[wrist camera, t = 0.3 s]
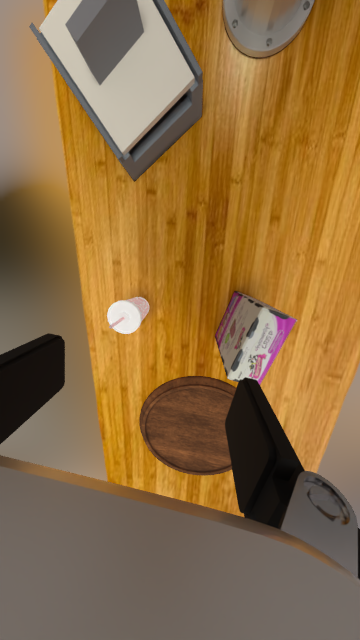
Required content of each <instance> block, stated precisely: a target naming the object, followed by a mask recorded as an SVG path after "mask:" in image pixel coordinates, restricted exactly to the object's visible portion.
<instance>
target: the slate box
mask: <svg viewBox="0 0 360 640" xmlns="http://www.w3.org/2000/svg"><path fill="white" fill-rule="evenodd" d="M152 1H153V2H154V4H155V6H156V8H157V10H158V11H159V13H160V15H161V17H162V19H163V21H164V22H165V24H166V26H167V28H168V30H169V32H170V33H171V35H172V37H173V39H174V41H175V43H176V44H177V46H178V48H179V50H180V52H181V54H182V55H183V57H184V59H185V61H186V63H187V64H188V66H189V68H190V70H191V72H192V74H193V75H194V77H195V83H194V84H193V85H192V86H191V87H190V89H189V90H188V91H187V92H186V93H185V94H184V95H183V96H182V97H181V98H180V99H179V100H178V101H177V102H176V103H175V104H174V105H173V106H172V107H171V108H170V109H169V110H168V111H167V112H166V113H165V114H164V115H163V116H162V117H161V118H160V120H159V121H158V122H157V123H156V124H155V125H154V126H153V127H152V128H151V129H150V130H149V131H148V132H147V133H146V134H145V135H144V136H143V137H142V138H141V139H140V140H139V141H138V142H137V143H136V144H135V145H134V146H133V147H132V148H131V149H130V151H129V152H128V153H127V154H126V155H125V156H124V155H123V154H122V152H121V151H120V149H119V148H118V146H117V145H116V143H115V142H114V140H113V139H112V137H111V136H110V134H109V133H108V131H107V130H106V128H105V127H104V125H103V124H102V122H101V121H100V119H99V118H98V116H97V115H96V113H95V112H94V110H93V109H92V107H91V106H90V104H89V103H88V101H87V100H86V98H85V97H84V95H83V94H82V92H81V91H80V89H79V88H78V86H77V85H76V83H75V82H74V80H73V79H72V77H71V76H70V74H69V73H68V71H67V70H66V68H65V67H64V65H63V64H62V62H61V61H60V59H59V58H58V56H57V55H56V53H55V52H54V50H53V49H52V47H51V46H50V44H49V43H48V41H47V40H46V38H45V37H44V35H43V34H42V32H41V33H39V32H38V30H37V29H36V27H35V26H34V24H33V23H31V25H30V28H31V30H32V31H33V33H34V34H35V36H36V37H37V40H38V41H39V43H40V44H41V46H42V47H43V49H44V50H45V52H46V53H47V54H48V56H49V57H50V59H51V60H52V62H53V63H54V65H55V66H56V68H57V69H58V71H59V72H60V74H61V75H62V77H63V78H64V80H65V81H66V83H67V84H68V86H69V87H70V89H71V90H72V92H73V93H74V94H75V96H76V97H77V99H78V100H79V102H80V103H81V105H82V106H83V108H84V109H85V111H86V112H87V114H88V115H89V117H90V118H91V120H92V121H93V123H94V124H95V126H96V127H97V129H98V130H99V131H100V133H101V134H102V136H103V137H104V139H105V140H106V142H107V143H108V145H109V146H110V148H111V149H112V151H113V152H114V154H115V155H116V157H117V158H118V160H119V161H120V163H121V164H122V165H123V167H124V168H125V169H126V171H127V172H128V174H129V175H130V176H131V178H132V179H133V180H134V182H135V181H136V180H137V179H138V178H139V177H140V176H141V175H142V174H143V173H144V172H145V171H146V170H147V169H148V168H149V167H150V166H151V165H152V164H153V163H154V162H155V161H156V160H157V159H158V158H159V157H160V156H161V155H162V154H163V153H165V152H166V151H167V150H168V149H169V148H170V147H171V146H172V145H173V144H174V143H175V142H176V141H177V140H178V139H179V138H180V137H181V136H182V135H183V134H184V133H185V132H186V131H187V130H188V129H189V128H190V127H191V126H192V125H193V124H194V123H195V122H197V121H198V120H199V119H200V118H201V117H202V92H203V80H202V70H201V68H200V67H199V65H198V63H197V61H196V59H195V57H194V55H193V54H192V52H191V50H190V48H189V46H188V44H187V42H186V40H185V39H184V37H183V35H182V33H181V31H180V29H179V27H178V26H177V24H176V22H175V20H174V18H173V16H172V14H171V13H170V11H169V9H168V7H167V5H166V3H165V1H164V0H152Z"/></svg>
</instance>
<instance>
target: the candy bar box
mask: <svg viewBox="0 0 360 640" xmlns="http://www.w3.org/2000/svg"><path fill="white" fill-rule="evenodd" d="M296 321H297V320H296V319H295V318H293V317H291V316H289V315H287V314H285V313H283V312H281V311H279V310H277V309H275V308H273V307H271V306H269V305H267V304H265V303H263V302H261V301H259V300H257V299H255V298H252V297H250V296H248V295H245V294H242V293H240V292H237V291H235V292H234V294H233V296H232V299H231V301H230V303H229V305H228V308H227V310H226V312H225V315H224V317H223V319H222V321H221V323H220V326H219V328H218V330H217V332H216V335H215V338H216V341H217V345H218V348H219V351H220V355H221V358H222V362H223V365H224V368H225V372H226V375H227V378H228V379H230V380H233V381H236V382H239V380H240V379H242V380H243V379H244V378H245V377H246V378H251V379H255V380H257V381H258V383H259V385H261V383H262V381H263V379H264V377H265V376H266V374H267V372H268V370H269V368H270V367H271V365H272V363H273V361H274V360H275V358H276V356H277V354H278V353H279V351H280V349H281V347H282V346H283V344H284V342H285V340H286V339H287V337H288V335H289V333H290V332H291V330H292V328H293V327H294V325H295V323H296Z"/></svg>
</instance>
